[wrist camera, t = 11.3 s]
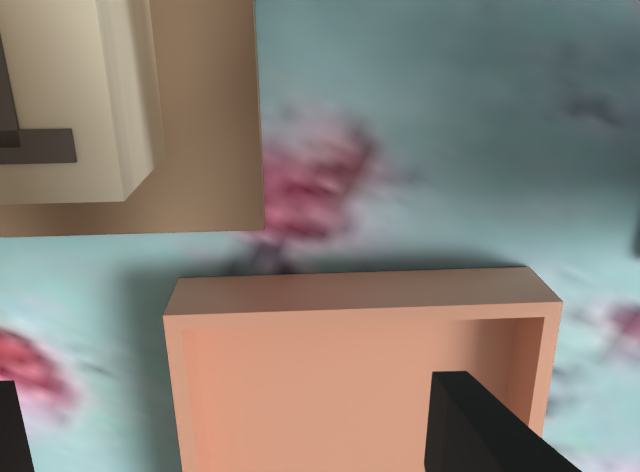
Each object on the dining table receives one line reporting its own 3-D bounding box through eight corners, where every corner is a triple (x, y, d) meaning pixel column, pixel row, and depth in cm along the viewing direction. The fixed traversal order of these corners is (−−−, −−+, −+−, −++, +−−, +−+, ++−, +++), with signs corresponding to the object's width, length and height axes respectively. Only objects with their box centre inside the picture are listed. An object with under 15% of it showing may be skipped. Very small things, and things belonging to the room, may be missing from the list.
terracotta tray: (529, 266, 19) (562, 301, 17) (494, 526, 24) (518, 583, 21) (178, 278, 19) (162, 315, 16) (208, 541, 23) (198, 601, 21)
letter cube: (147, -13, 15) (89, -27, 11) (166, 155, 16) (122, 202, 12) (-27, -12, 15) (-159, -24, 10) (9, 158, 16) (-93, 208, 12)
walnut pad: (248, -141, 15) (244, -152, 14) (265, 219, 18) (264, 230, 17) (-146, -141, 14) (-176, -151, 13) (-50, 228, 18) (-68, 239, 17)
